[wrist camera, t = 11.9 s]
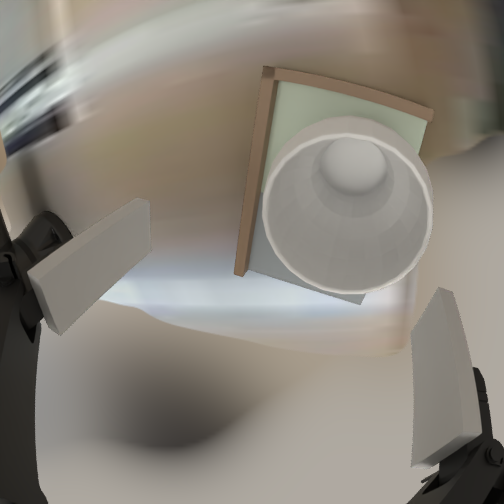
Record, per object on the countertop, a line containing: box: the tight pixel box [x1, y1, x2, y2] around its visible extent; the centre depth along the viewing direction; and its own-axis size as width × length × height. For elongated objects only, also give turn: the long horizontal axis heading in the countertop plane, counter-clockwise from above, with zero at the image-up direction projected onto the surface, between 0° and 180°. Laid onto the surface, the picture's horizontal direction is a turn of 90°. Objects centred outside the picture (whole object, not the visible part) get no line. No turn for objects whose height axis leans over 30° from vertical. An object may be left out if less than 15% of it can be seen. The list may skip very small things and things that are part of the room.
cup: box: [262, 115, 433, 294], centre depth 22 cm, size 11×11×15 cm
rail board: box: [234, 66, 435, 305], centre depth 30 cm, size 16×24×3 cm, turn 172°
